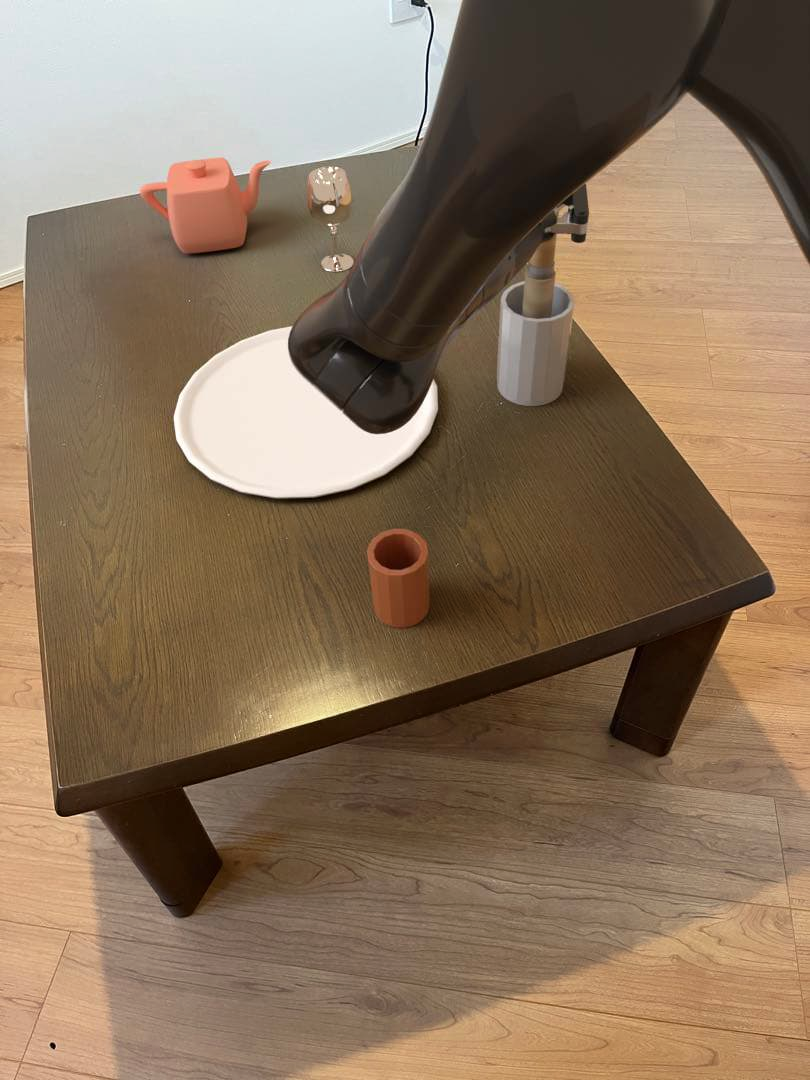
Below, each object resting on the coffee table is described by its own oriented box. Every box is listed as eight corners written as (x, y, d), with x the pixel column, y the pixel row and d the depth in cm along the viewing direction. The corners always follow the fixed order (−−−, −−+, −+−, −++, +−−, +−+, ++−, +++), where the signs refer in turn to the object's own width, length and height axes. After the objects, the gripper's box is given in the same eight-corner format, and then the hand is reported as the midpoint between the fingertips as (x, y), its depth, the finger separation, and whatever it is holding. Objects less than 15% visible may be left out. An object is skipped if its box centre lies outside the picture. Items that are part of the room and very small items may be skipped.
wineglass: (308, 270, 111) (296, 182, 102) (327, 248, 114) (316, 161, 105) (347, 277, 109) (338, 189, 100) (365, 255, 113) (358, 167, 103)
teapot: (155, 223, 121) (135, 151, 113) (279, 207, 122) (267, 135, 114) (153, 265, 113) (131, 191, 105) (285, 248, 115) (272, 173, 107)
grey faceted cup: (568, 369, 95) (579, 284, 87) (556, 411, 90) (567, 325, 82) (504, 360, 97) (509, 276, 88) (490, 400, 92) (494, 315, 84)
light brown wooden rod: (557, 316, 86) (580, 114, 71) (536, 327, 85) (554, 124, 70) (536, 304, 88) (555, 103, 73) (516, 314, 87) (530, 113, 71)
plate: (493, 419, 90) (493, 410, 89) (262, 550, 79) (260, 541, 78) (341, 302, 106) (340, 293, 105) (131, 398, 95) (127, 389, 94)
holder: (436, 588, 75) (434, 534, 70) (420, 634, 72) (417, 581, 66) (383, 577, 76) (378, 523, 71) (366, 621, 73) (358, 568, 68)
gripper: (555, 231, 62) (641, 139, 72) (398, 190, 68) (497, 109, 77) (546, 316, 68) (627, 221, 77) (402, 272, 73) (494, 188, 83)
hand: (562, 165), depth 77 cm, fingers closed on light brown wooden rod, 2 cm apart
